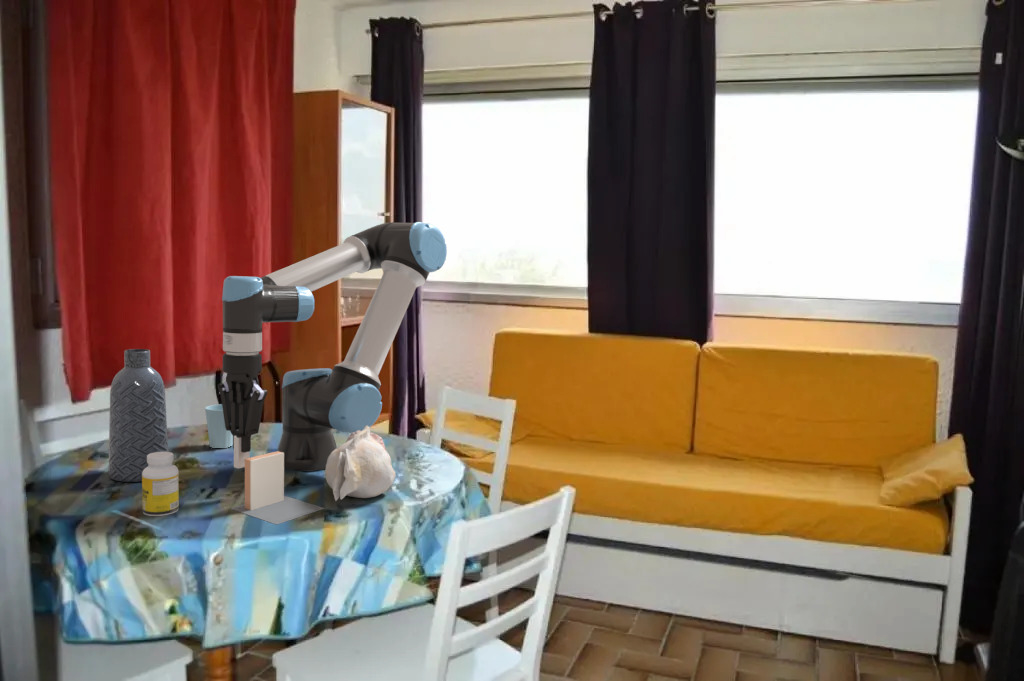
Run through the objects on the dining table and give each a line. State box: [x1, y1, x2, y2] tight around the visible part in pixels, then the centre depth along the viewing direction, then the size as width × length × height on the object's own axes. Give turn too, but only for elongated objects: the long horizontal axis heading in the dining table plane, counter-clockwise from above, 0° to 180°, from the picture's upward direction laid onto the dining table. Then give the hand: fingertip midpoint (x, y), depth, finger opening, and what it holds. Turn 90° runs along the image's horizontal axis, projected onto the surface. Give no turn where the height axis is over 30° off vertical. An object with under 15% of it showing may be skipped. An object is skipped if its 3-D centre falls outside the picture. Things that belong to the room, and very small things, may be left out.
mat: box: [229, 495, 326, 526], centre depth 154 cm, size 14×12×1 cm
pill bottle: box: [141, 451, 180, 517], centre depth 150 cm, size 6×6×12 cm
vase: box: [108, 348, 169, 483], centre depth 173 cm, size 12×12×28 cm
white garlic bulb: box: [324, 425, 397, 502], centre depth 164 cm, size 16×19×15 cm
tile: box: [244, 451, 285, 510], centre depth 156 cm, size 2×8×10 cm, turn 146°
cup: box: [204, 403, 233, 449], centre depth 200 cm, size 8×8×10 cm
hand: (241, 466), depth 159 cm, fingers closed
